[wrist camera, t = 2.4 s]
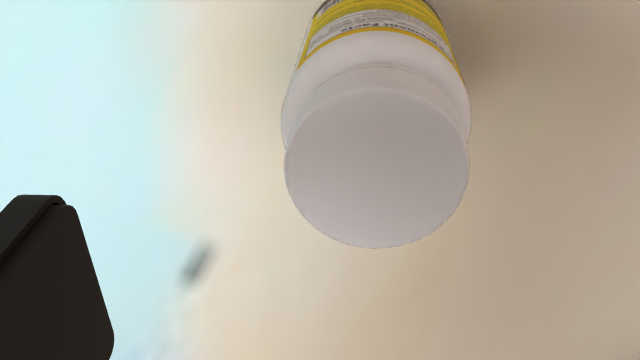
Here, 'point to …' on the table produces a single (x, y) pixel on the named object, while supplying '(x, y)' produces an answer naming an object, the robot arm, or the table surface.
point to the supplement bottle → (376, 123)
